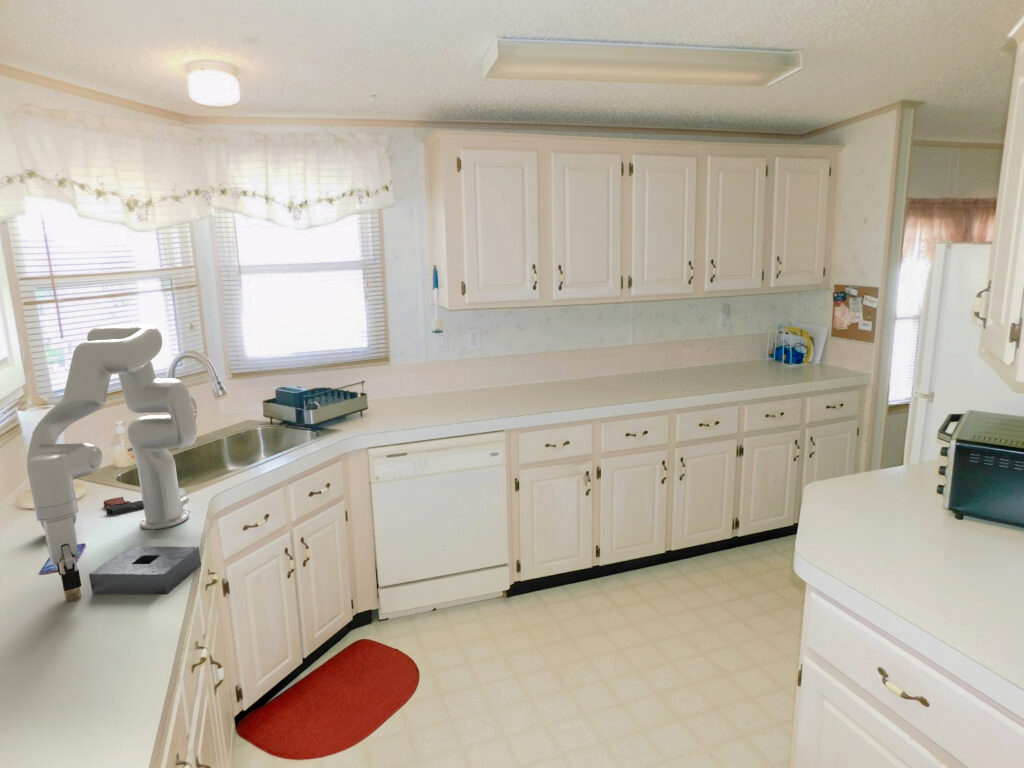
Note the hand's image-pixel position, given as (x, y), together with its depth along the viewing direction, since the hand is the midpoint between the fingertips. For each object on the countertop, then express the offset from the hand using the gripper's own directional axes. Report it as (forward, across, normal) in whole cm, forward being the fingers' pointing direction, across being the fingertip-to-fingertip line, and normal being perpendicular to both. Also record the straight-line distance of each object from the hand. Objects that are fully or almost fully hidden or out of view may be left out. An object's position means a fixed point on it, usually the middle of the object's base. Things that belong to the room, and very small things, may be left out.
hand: (70, 580), depth 144 cm
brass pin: (+4, 0, 0) cm, 4 cm away
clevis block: (+4, +2, +15) cm, 16 cm away
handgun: (+5, -56, +22) cm, 61 cm away
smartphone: (+5, -26, +1) cm, 27 cm away
